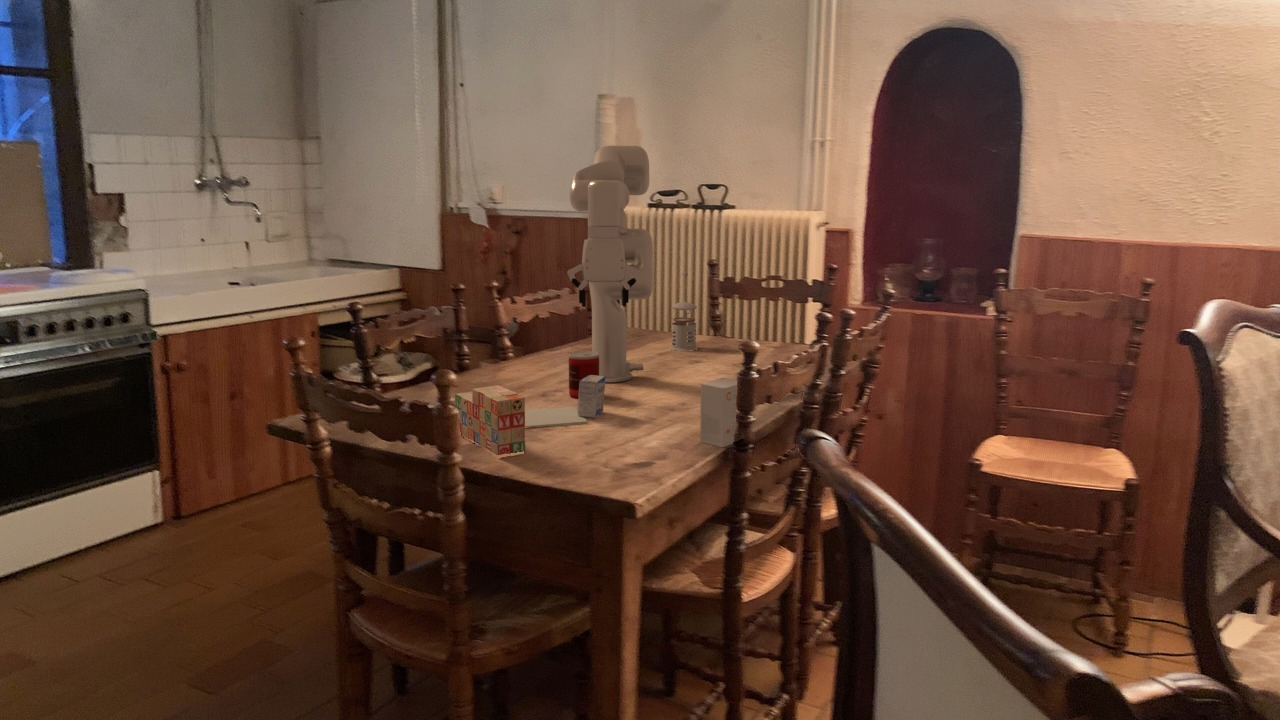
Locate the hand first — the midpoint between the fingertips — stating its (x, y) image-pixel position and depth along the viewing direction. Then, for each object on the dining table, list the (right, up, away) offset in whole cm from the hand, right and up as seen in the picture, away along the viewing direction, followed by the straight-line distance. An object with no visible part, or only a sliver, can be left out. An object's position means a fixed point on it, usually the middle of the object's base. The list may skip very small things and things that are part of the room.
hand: (603, 306), depth 225 cm
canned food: (-6, -22, +18) cm, 29 cm away
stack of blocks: (-23, -31, -25) cm, 46 cm away
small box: (+26, -31, -21) cm, 46 cm away
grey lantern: (+23, -9, +83) cm, 86 cm away
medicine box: (-3, -26, -1) cm, 26 cm away
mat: (-14, -27, -5) cm, 30 cm away
